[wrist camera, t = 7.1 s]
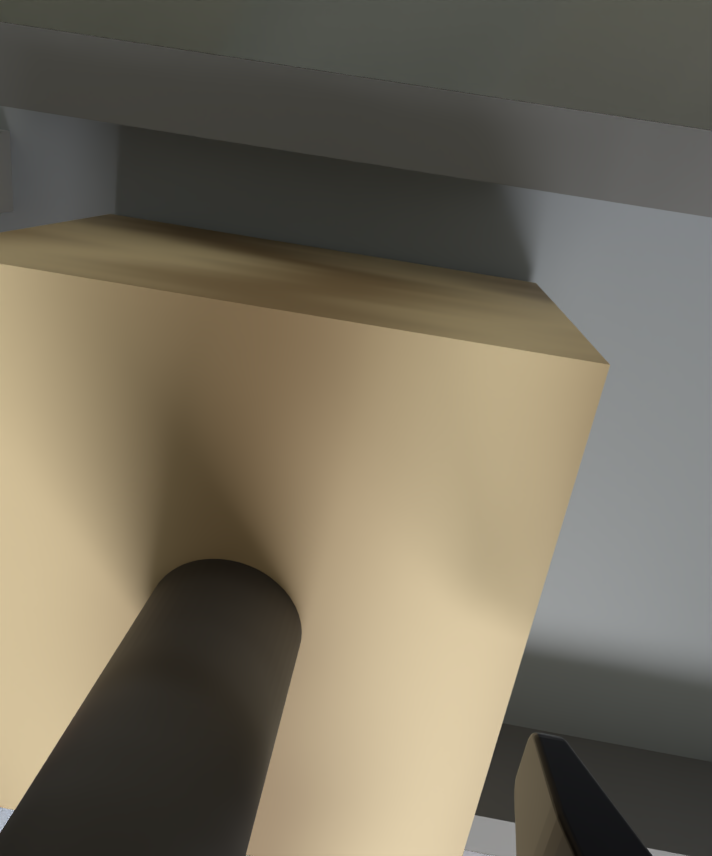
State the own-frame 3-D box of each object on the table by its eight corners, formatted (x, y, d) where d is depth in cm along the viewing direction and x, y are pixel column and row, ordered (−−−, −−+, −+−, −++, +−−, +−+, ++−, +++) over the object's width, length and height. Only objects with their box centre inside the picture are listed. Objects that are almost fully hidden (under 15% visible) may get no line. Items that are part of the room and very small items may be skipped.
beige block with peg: (108, 602, 18) (-308, 1181, 8) (110, 214, 14) (-695, 350, 4) (442, 663, 18) (466, 1351, 7) (535, 283, 14) (842, 620, 4)
